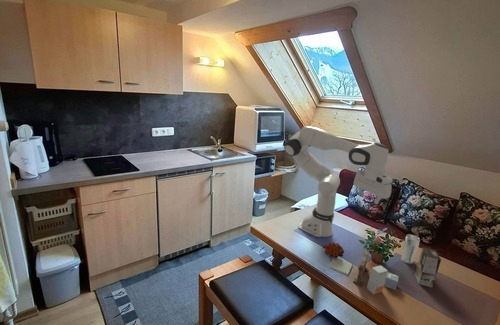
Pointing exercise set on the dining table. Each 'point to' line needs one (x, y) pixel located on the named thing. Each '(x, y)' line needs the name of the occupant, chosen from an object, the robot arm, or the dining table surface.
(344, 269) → the coaster
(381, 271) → the skincare box
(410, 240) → the beer glass
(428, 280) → the coffee box
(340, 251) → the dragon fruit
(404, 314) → the dining table surface
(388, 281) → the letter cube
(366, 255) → the brown flat upright piece
